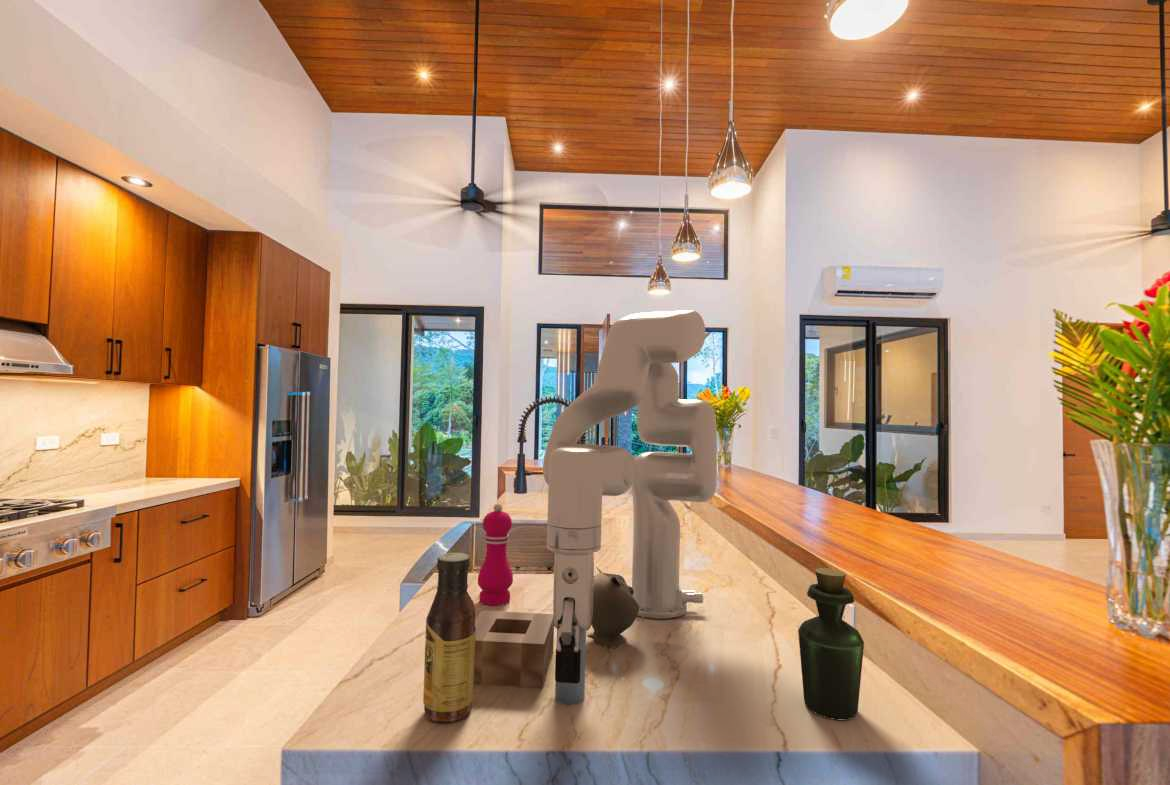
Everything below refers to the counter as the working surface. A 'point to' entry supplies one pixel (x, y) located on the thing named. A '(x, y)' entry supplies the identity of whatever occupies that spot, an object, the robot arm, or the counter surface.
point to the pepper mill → (496, 559)
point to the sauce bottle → (450, 643)
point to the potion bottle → (830, 650)
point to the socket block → (513, 648)
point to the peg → (574, 691)
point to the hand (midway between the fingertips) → (570, 666)
